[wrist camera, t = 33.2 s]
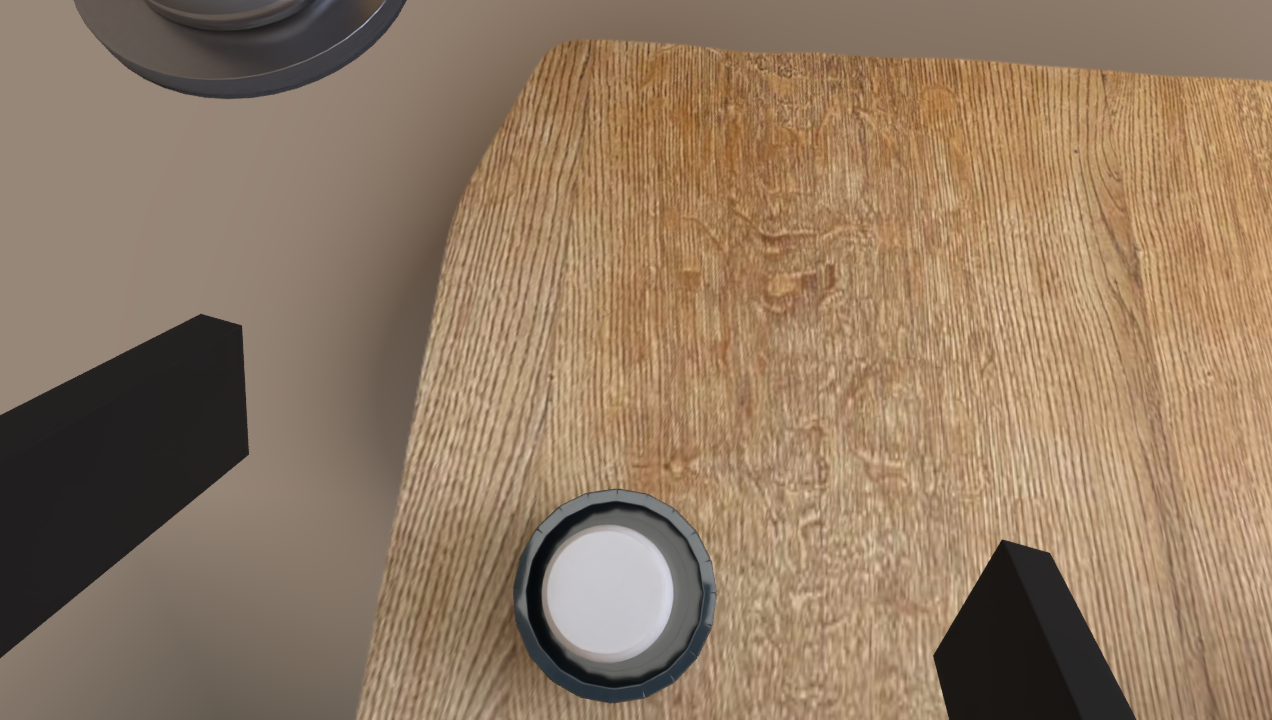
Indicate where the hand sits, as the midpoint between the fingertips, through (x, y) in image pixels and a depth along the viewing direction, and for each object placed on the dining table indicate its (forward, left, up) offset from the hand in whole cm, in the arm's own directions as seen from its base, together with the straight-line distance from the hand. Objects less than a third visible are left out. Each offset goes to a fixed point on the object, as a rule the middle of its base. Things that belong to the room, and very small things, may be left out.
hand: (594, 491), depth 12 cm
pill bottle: (+2, 0, -27) cm, 27 cm away
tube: (+2, 0, -27) cm, 27 cm away
